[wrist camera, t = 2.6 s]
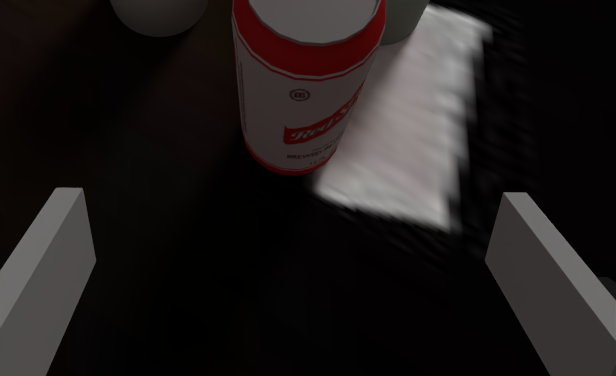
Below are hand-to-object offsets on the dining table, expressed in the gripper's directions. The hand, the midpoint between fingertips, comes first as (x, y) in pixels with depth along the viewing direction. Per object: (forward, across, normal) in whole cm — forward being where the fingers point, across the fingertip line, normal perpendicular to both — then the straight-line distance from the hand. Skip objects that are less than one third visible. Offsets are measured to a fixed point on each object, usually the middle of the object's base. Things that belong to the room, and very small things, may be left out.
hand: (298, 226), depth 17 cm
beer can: (+18, +1, -5) cm, 19 cm away
